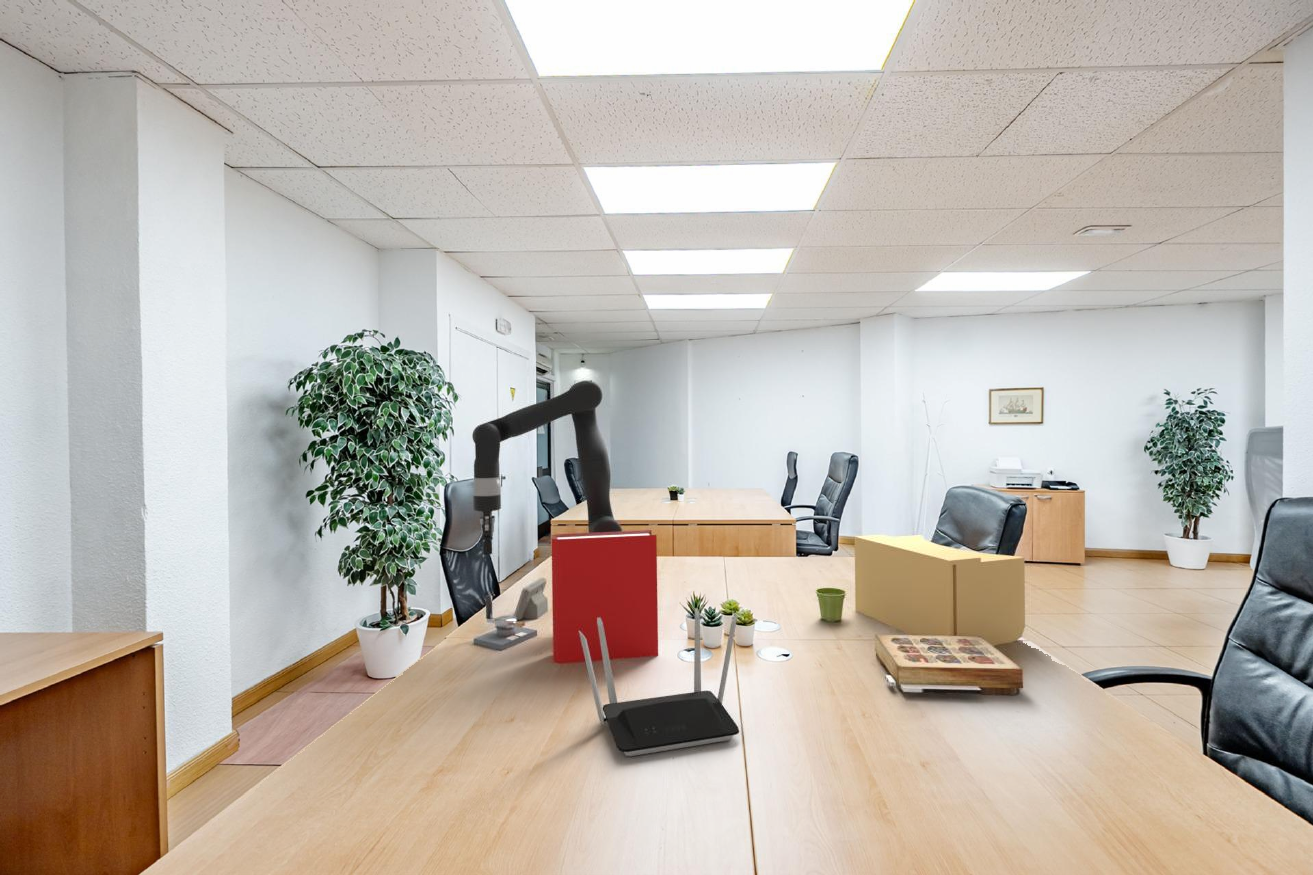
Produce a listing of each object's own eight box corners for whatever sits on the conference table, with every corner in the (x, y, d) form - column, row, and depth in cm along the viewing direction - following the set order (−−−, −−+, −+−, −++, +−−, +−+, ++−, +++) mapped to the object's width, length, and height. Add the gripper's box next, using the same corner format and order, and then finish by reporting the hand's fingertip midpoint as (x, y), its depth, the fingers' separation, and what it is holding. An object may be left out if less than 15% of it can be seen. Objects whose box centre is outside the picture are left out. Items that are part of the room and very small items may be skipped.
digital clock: (534, 606, 206) (534, 575, 206) (557, 609, 202) (556, 577, 202) (505, 620, 191) (504, 587, 191) (528, 623, 187) (528, 589, 187)
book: (652, 645, 166) (651, 530, 166) (658, 655, 158) (656, 534, 158) (553, 653, 161) (551, 534, 161) (553, 664, 154) (551, 539, 153)
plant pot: (814, 622, 184) (814, 594, 184) (816, 613, 193) (815, 586, 193) (846, 624, 182) (846, 596, 182) (846, 615, 191) (846, 588, 191)
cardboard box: (855, 610, 196) (854, 536, 196) (920, 602, 204) (919, 531, 204) (950, 652, 158) (949, 560, 158) (1025, 640, 166) (1024, 553, 166)
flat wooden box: (894, 700, 132) (1030, 703, 128) (893, 671, 132) (1029, 674, 128) (867, 658, 156) (981, 660, 153) (867, 634, 156) (980, 635, 153)
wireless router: (591, 767, 106) (589, 654, 106) (573, 709, 128) (572, 616, 128) (765, 738, 115) (764, 634, 115) (721, 689, 137) (719, 602, 137)
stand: (537, 635, 176) (536, 622, 176) (501, 650, 164) (501, 636, 164) (509, 629, 182) (509, 617, 182) (473, 643, 170) (473, 630, 170)
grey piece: (516, 631, 167) (516, 602, 167) (479, 625, 173) (479, 598, 173) (529, 624, 173) (529, 597, 173) (493, 619, 178) (493, 592, 178)
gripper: (500, 495, 166) (501, 557, 166) (501, 490, 178) (501, 549, 178) (471, 496, 164) (472, 559, 164) (474, 491, 177) (475, 550, 177)
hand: (488, 553), depth 171 cm, fingers closed
